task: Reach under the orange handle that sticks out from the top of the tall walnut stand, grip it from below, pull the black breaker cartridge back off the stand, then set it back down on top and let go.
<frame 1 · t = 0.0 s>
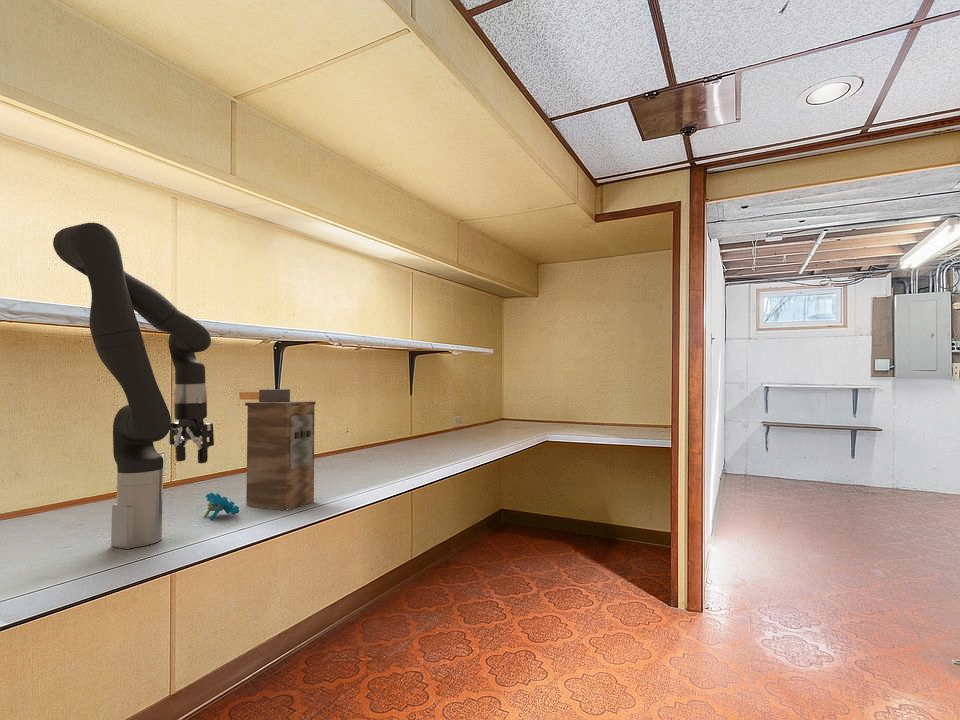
hand: (191, 462, 132), 17 cm above the table, tool pointing down, fingers open, 8 cm apart
cartridge: (265, 401, 161), point 32 cm above the table, touching stand
stand: (278, 503, 157), on the table
teal plastic lumpy figure: (221, 517, 142), on the table
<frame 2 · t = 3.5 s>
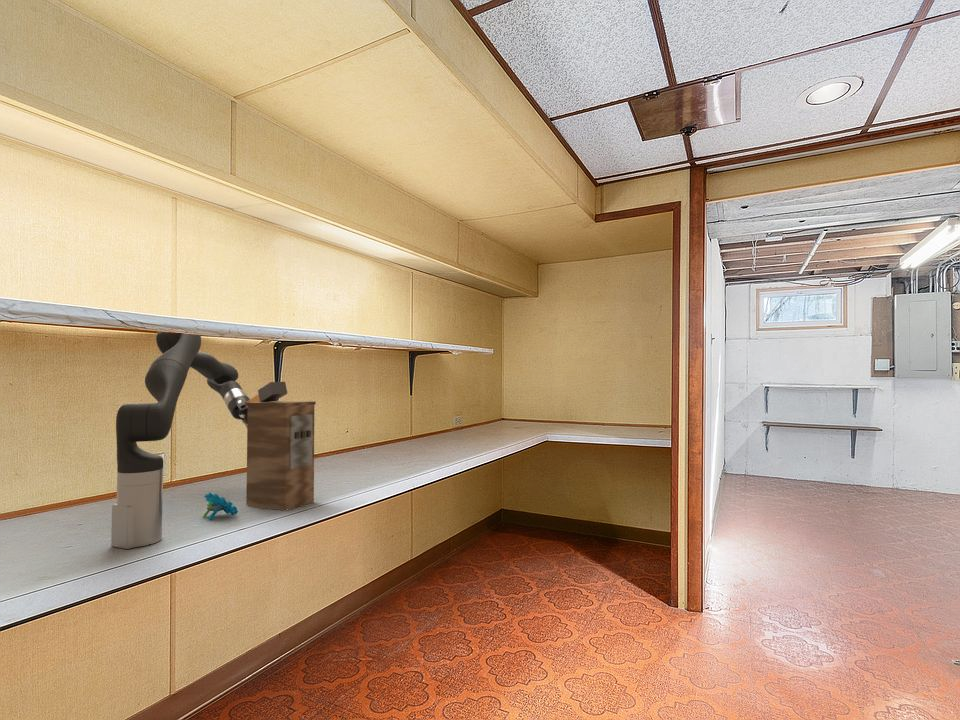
hand: (256, 431, 166), 22 cm above the table, tool tilted 55°, fingers open, 8 cm apart
cartridge: (267, 401, 161), point 32 cm above the table, tilted 19°, touching stand
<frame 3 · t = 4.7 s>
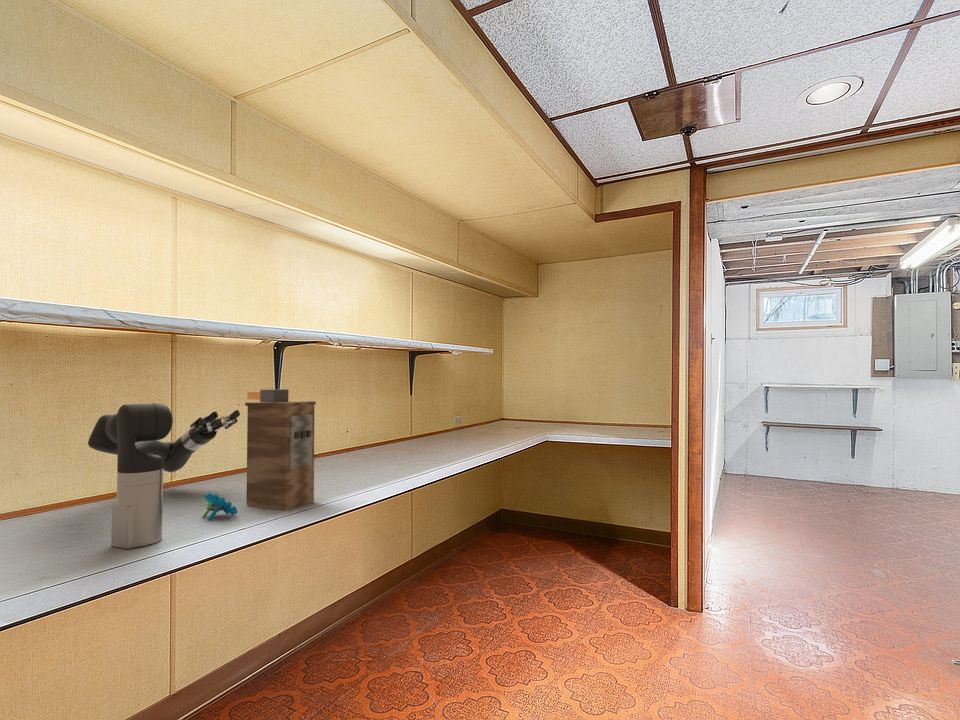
hand: (227, 413, 168), 28 cm above the table, tool pointing upward, fingers open, 8 cm apart
cartridge: (267, 401, 161), point 32 cm above the table, touching stand
everything else where it was.
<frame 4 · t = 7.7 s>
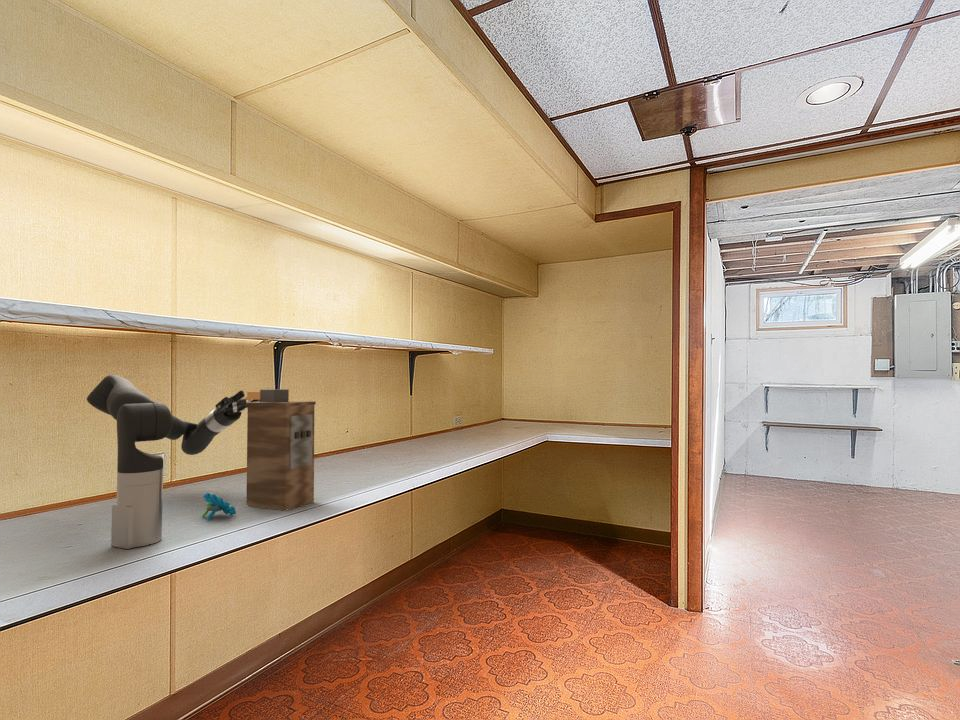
hand: (253, 392, 164), 35 cm above the table, tool pointing upward, fingers open, 8 cm apart
cartridge: (267, 401, 161), point 32 cm above the table, touching gripper, stand
everything else where it was.
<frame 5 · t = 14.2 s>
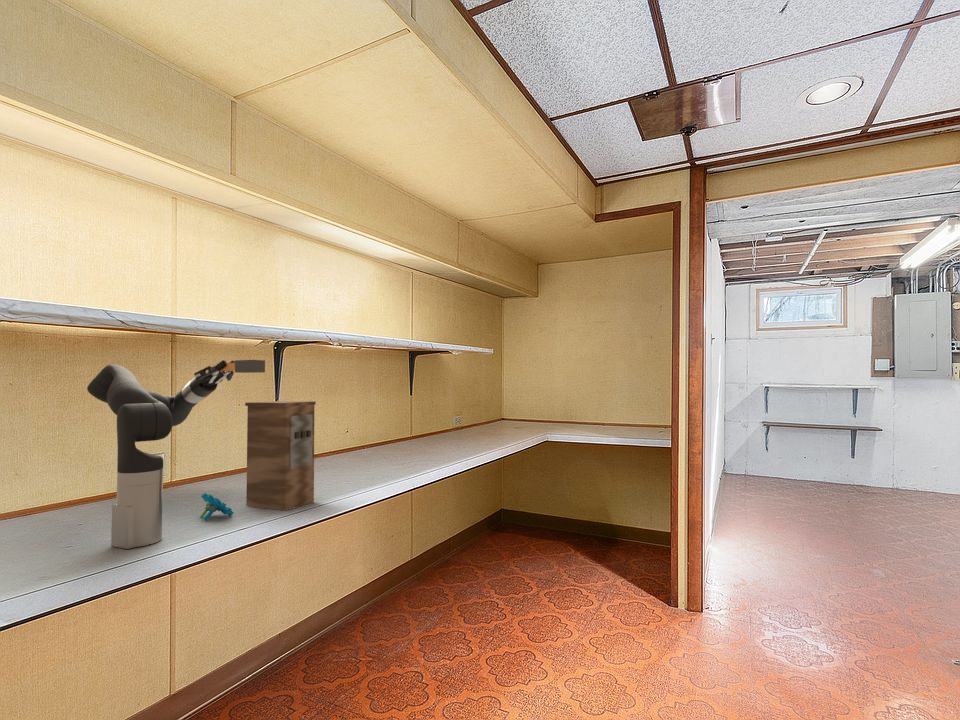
hand: (229, 362, 169), 45 cm above the table, tool pointing upward, fingers closed on cartridge, 3 cm apart
cartridge: (241, 372, 166), point 42 cm above the table, touching gripper
when the fingers open (37 cm above the table, at t = 20.3 s): cartridge drops 1 cm, resting on stand.
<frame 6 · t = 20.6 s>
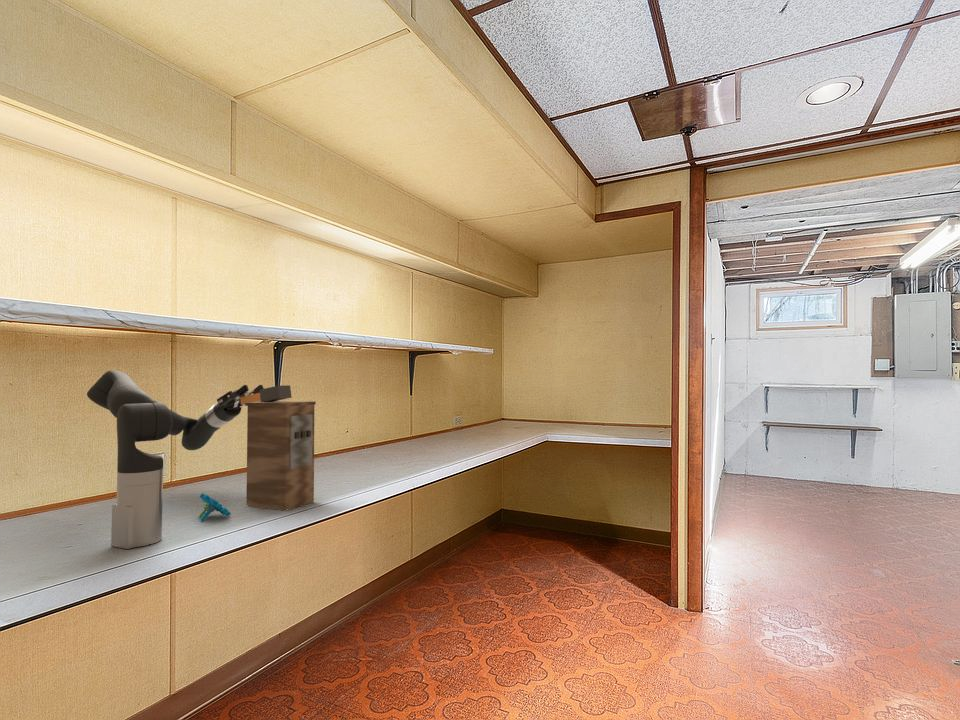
hand: (254, 387, 163), 37 cm above the table, tool pointing upward, fingers open, 5 cm apart
cartridge: (267, 401, 161), point 32 cm above the table, tilted 10°, touching stand
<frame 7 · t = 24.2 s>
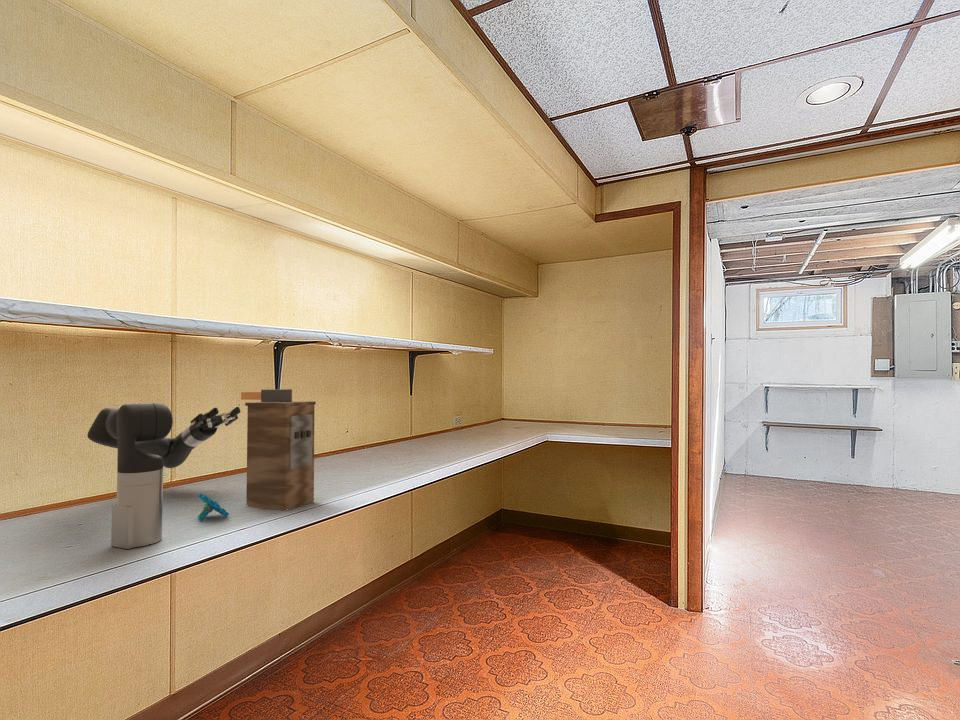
hand: (228, 409, 168), 29 cm above the table, tool pointing upward, fingers open, 8 cm apart
cartridge: (267, 401, 161), point 32 cm above the table, touching stand
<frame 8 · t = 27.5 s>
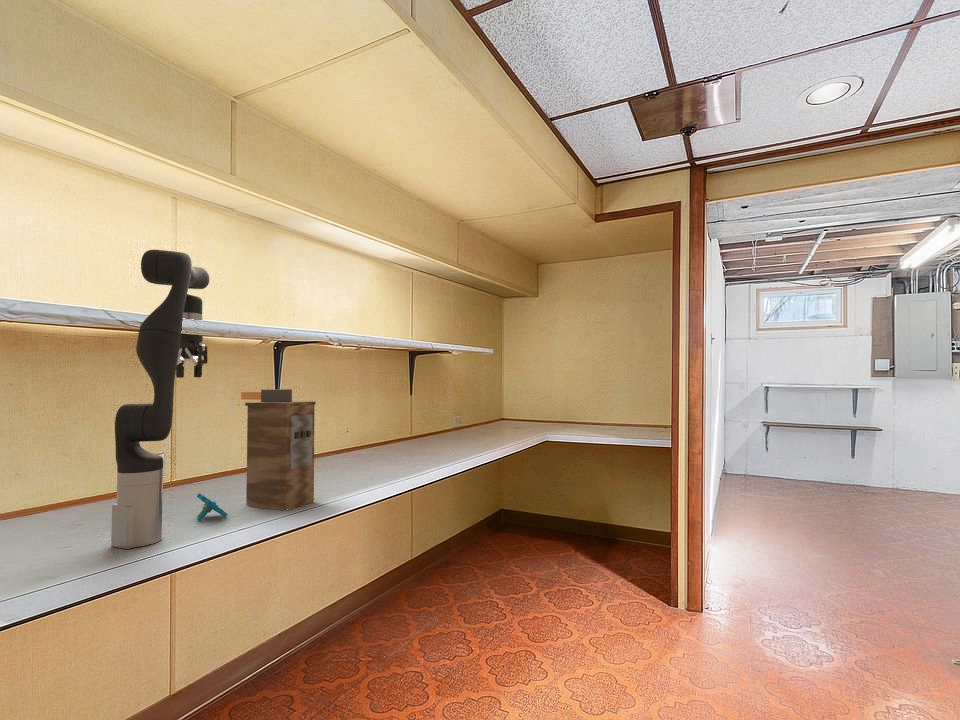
hand: (188, 377, 162), 40 cm above the table, tool pointing down, fingers open, 8 cm apart
at the end: cartridge 0.8 cm from the target spot on the stand, point 32.0 cm above the stand's base; the gripper is holding nothing; cartridge tilted 0° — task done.
